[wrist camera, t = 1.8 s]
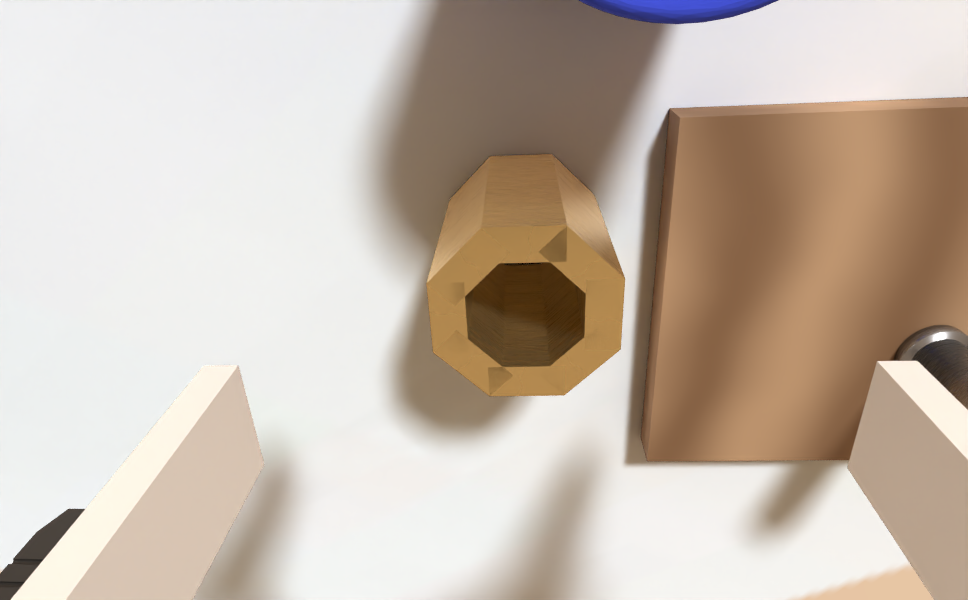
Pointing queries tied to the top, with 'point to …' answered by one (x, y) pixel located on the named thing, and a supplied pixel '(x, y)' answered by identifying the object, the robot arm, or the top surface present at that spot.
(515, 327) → the bushing
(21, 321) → the top surface
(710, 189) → the board
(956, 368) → the post
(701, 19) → the mug
